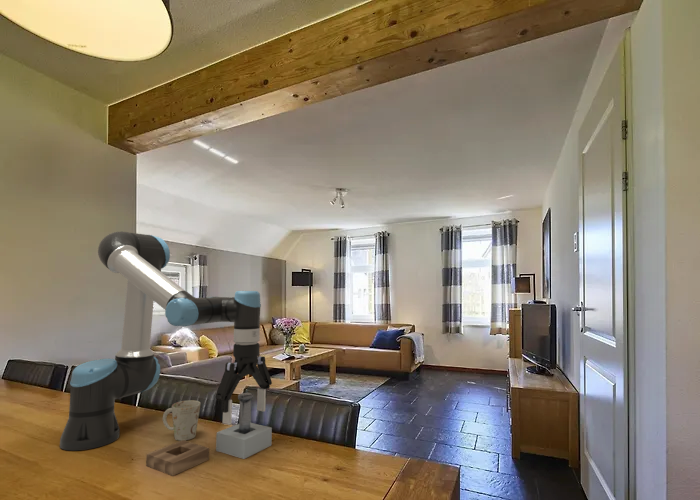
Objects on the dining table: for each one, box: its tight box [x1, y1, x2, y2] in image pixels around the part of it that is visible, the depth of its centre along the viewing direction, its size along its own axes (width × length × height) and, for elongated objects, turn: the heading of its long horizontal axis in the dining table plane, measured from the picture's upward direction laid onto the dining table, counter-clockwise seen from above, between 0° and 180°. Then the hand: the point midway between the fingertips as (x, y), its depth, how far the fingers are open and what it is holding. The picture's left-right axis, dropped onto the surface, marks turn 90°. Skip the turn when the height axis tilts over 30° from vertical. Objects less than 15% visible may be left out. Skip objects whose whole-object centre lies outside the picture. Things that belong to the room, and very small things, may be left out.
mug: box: [162, 399, 201, 442], centre depth 125 cm, size 8×13×10 cm, turn 78°
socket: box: [215, 422, 273, 460], centre depth 116 cm, size 11×11×5 cm
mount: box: [145, 440, 210, 477], centre depth 106 cm, size 11×11×3 cm
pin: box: [237, 392, 254, 434], centre depth 116 cm, size 4×4×15 cm
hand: (244, 416), depth 116 cm, fingers open, 13 cm apart
